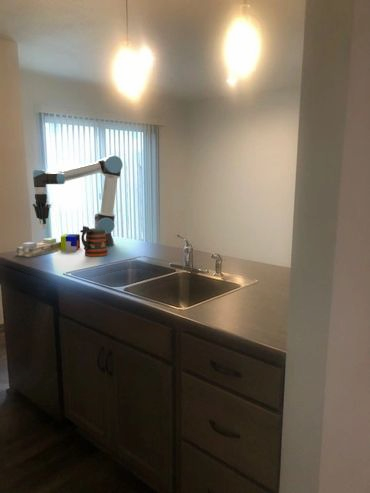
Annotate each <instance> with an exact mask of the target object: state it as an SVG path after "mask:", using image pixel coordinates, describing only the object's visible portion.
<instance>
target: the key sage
mask: <svg viewBox="0 0 370 493" xmlns="http://www.w3.org/2000/svg"><path fill="white" fill-rule="evenodd" d="M56 241H57V238H55V237H47V238H43V239H42V242H43V243H48V244H51V243H55V242H56Z"/></svg>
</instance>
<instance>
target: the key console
mask: <svg viewBox="0 0 370 493" xmlns="http://www.w3.org/2000/svg"><path fill="white" fill-rule="evenodd" d="M38 243H43V241H40V242H38ZM46 244H47V245H42V246H37V247H34V248H23V245H22V246H17V247H16V256H20V257H28V258H33V257H37V256H40V255H41V256H42V255H44V254H48V253H52V252H53V253H54V252H56V250H57V251H61V250H60V249H61V241H57V240H56V242H55V243H51V244H48V243H46Z"/></svg>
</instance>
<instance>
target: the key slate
mask: <svg viewBox="0 0 370 493" xmlns="http://www.w3.org/2000/svg"><path fill="white" fill-rule="evenodd" d="M37 243H38V242H33V241H29V242H24V243H22V244H21V245H22V246H23V248H34V247H37Z"/></svg>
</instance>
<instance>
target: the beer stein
mask: <svg viewBox="0 0 370 493" xmlns="http://www.w3.org/2000/svg"><path fill="white" fill-rule="evenodd" d="M79 232H80V233H81V235H80V241H81V243H82V245H83V249H84V255H85V256H87V257H91V258H94V257H97V258H99V257H105V256H108V250H109V249H108V246H106V234H105V230H103V228H101V229H100V228H95V227H93V228H92V227H91V228H90V227H88V226H86V225H83V226H82V230H81V229H80V231H79Z"/></svg>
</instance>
